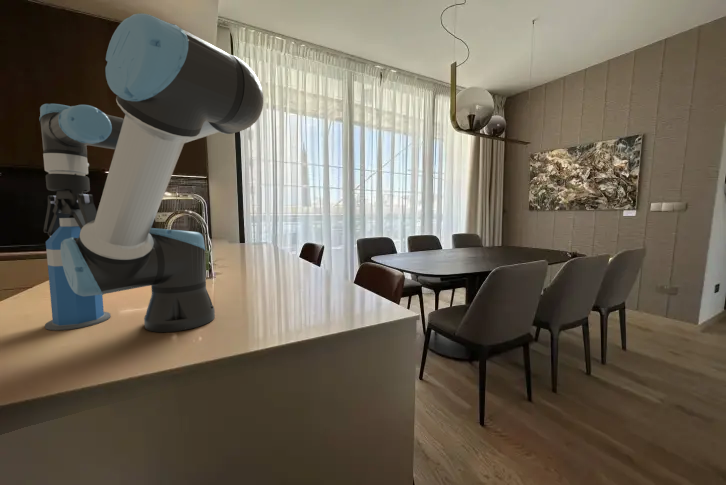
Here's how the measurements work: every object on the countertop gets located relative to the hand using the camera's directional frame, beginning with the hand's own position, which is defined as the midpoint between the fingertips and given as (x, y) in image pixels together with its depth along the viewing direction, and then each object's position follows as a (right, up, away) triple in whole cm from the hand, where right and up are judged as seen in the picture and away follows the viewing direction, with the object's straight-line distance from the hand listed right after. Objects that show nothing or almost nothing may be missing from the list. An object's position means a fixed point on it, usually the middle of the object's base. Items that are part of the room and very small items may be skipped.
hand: (75, 262), depth 75 cm
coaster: (0, -15, +2) cm, 15 cm away
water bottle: (0, -14, +2) cm, 14 cm away
